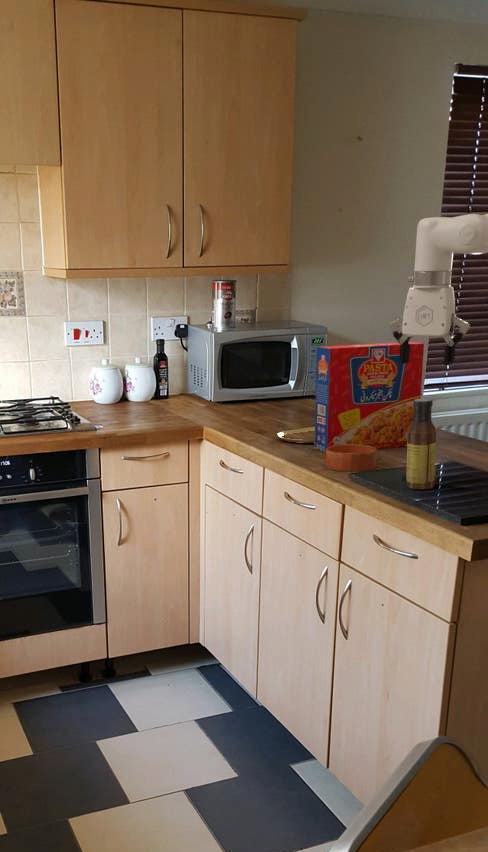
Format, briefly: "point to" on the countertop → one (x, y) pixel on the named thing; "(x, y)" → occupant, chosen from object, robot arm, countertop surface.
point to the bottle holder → (350, 457)
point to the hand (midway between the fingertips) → (426, 363)
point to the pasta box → (366, 394)
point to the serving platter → (296, 432)
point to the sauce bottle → (421, 447)
